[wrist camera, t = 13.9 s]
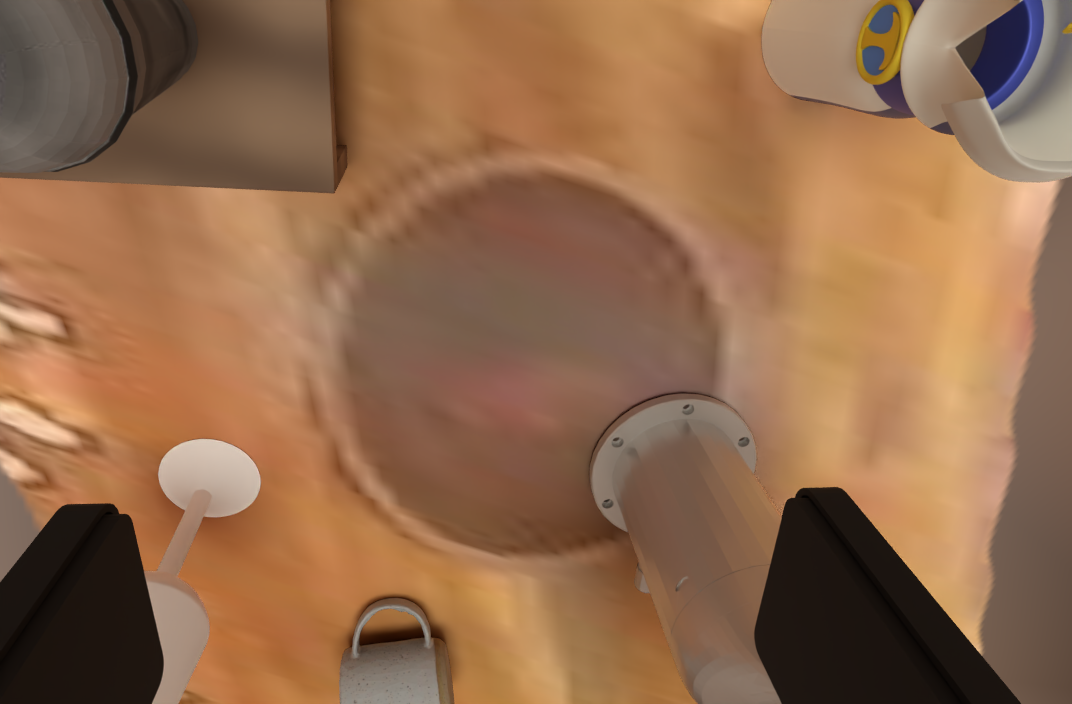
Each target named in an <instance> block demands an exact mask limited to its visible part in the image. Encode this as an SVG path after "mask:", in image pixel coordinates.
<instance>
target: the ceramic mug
mask: <svg viewBox="0 0 1072 704" xmlns="http://www.w3.org/2000/svg"><path fill="white" fill-rule="evenodd" d="M382 609H395V610H398V611H401V612H404V611H406V612H408V614H411V615H414V616H415V617H416V619H417V620H418V621H419V623H420V624H421V626H422V629H423V632H424V635H425V638H416V639H409V640H403V641H396V642H387V643H378V644H371V645H363V646H360V645H359V637H360V632H361V630H362V628H363V626H364V625H365V624H366V622H367V621H368V620H369V619H370V618H371V616H372V615H374V614H375V613H376V612H377V611H379V610H382ZM339 687H340V704H454V694H453V685H452V677H451V670H450V663H449V656H448V651H447V647H446V644H445V643H444V642H443V641H442V640H441V639H439V638H431V632H430V626H429V623H428V621H427V618H426V616H425V614H424V613H423V611H422V610H421V609H420V608H419V607H418V606H417V605H416V604H414V603H413V602H411V601H408V600H406V599H402V598H388V599H383V600H379V601H377V602H375V603H373V604H371V605H370V606H369V607H368V608H367V609H366V610H365V611H364V612H363V614H362V615H361V617H360V619H359V621H358V623H357V626H356V629H355V633H354V637H353V646H352V647H350V648H347V649H346V650H345V651H344V653H343V656H342V660H341V667H340V680H339Z"/></svg>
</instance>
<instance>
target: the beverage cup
mask: <svg viewBox="0 0 1072 704" xmlns="http://www.w3.org/2000/svg"><path fill="white" fill-rule="evenodd" d="M197 47H198V36H197V30H196V24H195V22H194V20H193V18H192V15H191V13H190V11H189V9H188V7H187V6H186V5H185V3H184V2H183V1H182V0H0V172H10V173H40V172H59V171H62V170H65V169H69V168H72V167H75V166H79V165H82V164H85V163H89V162H91V161H92V160H94V159H95V158H96V157H98V156H99V155H100V154H101V153H103V152H104V151H105V150H106V149H108V148H109V147H110V146H112V145H113V144H114V143H115V142H117V140H118V138H119V137H120V135H121V133H122V131H123V129H124V128H125V126H126V124H127V123H128V121H129V119H130V118H131V116H132V115H133V114H134V113H136V112H137V111H138V110H140V109H141V108H142V107H144V106H145V105H146V104H148V103H149V102H151V101H152V100H153V99H155V98H156V97H157V96H159V95H160V94H161V93H163V92H164V91H165V90H167V89H168V88H169V87H171V86H172V85H173V84H175V83H176V82H177V81H178V80H180V79H181V78H182V76H183V75H184V74H185V73H186V72H187V71H188V70H189V69H190V67H191V65H192V63H193V62H194V60H195V58H196V53H197Z"/></svg>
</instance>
